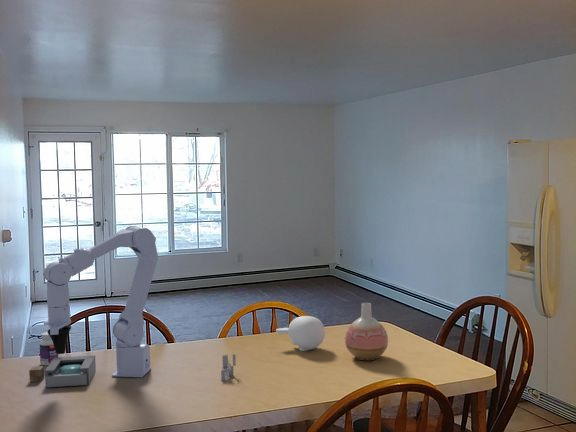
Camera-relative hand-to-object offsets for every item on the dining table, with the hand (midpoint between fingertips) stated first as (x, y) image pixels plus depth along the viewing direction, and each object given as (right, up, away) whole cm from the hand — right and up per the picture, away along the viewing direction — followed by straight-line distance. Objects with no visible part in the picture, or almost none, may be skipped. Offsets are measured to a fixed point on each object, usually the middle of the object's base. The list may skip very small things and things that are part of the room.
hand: (60, 353), depth 172 cm
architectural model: (+51, -10, +6) cm, 53 cm away
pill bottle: (-12, -8, +23) cm, 27 cm away
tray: (0, -9, +7) cm, 12 cm away
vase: (+89, -7, +24) cm, 92 cm away
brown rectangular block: (-10, -9, +7) cm, 15 cm away
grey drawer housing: (0, -9, +7) cm, 12 cm away
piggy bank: (+69, -6, +36) cm, 78 cm away
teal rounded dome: (0, -8, +7) cm, 10 cm away
